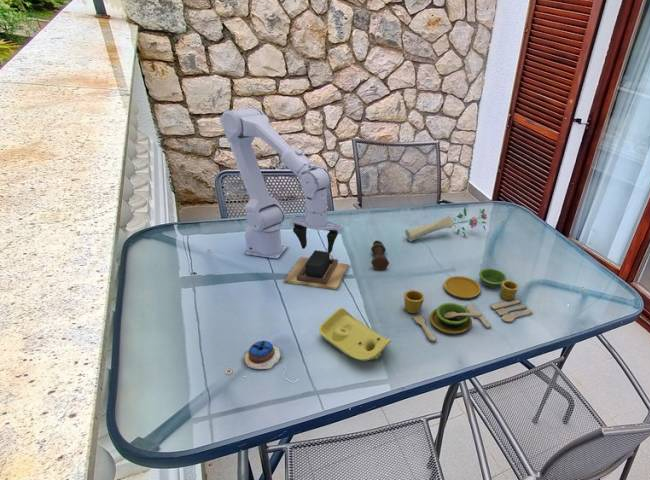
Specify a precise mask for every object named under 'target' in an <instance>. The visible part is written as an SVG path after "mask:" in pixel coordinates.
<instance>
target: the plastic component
mask: <svg viewBox="0 0 650 480" xmlns="http://www.w3.org/2000/svg"><path fill="white" fill-rule="evenodd" d="M318 332H319V334H320V335H321V336H322V337H323V339H325V341H327V342H328V343H330V344H331V345H332V346H334V347H335V348H336V349H338V350H339V351H341V352H342V353H344V355H346V356H349V357H351V358H352V359H355V360H358V361H369V360H374V359H376V360H377V359H378V357H379V356H381V355H382V353H381V352H382V351H383V350H384V349H385V348H386V347H387V346H388V345H389V344H390V343H391V342H392V339H391V338H386V337H385V336H382V335H381V334H379V333H378V332H376V331H375V330H373V329H372V328H369V327H368V326H367V325H365V324H364V323H362V322H361V321H359V320H358V319H357V318H355V317H354V316H353V315H351V313H350V312H348V311H347V310H346V309H345V308H343V307H339V308H337V309H336V310H335V311H334V312H333V313H332V314H331V315H330V316H328V317H327V318H326V319H325V320H324V321H323V322H322V323H321V324H320V325H319V328H318Z"/></svg>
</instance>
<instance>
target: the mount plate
mask: <svg viewBox="0 0 650 480" xmlns="http://www.w3.org/2000/svg"><path fill="white" fill-rule="evenodd" d="M310 257H311V255H310V256H309V257H304V256H300V258H299V259H298V260H297V262H296V264H295V265H294V266H293V268H292V269H291V270H290V271H289V273H288V275H287V276H286V277H285V279H284V283H287V284H293V285H301V286H308V287H314V288H321V289H328V290H338V288H339V286H340V284H341V282H342V280H343V278H344V276H345V274H346V273H347V270H348V268H349V264H348V263H342V262H339V260H338V259H337V258H330V266H329V268H328V269H327V271H326V273H325V274H324V276H323V278H316V277H309V276H306V268H305V264H306V263H307V261H308V260H309V258H310Z"/></svg>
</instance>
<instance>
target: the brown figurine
mask: <svg viewBox="0 0 650 480" xmlns="http://www.w3.org/2000/svg"><path fill="white" fill-rule="evenodd" d="M386 250H387V249H386V246H385V245H384V243H383V242H382V241H381V240H374V241H373V242H372V246H371V247H370V251H371V252H372V254H373V256H374V257H373V258H372V260H371V262H370V263H371V265H372V267H373V269H374V270H375V271H384V270H385V271H386V269H387V268H388V266H389V265H390V261H389V260H388V258H387V256H386V255H385V252H386Z"/></svg>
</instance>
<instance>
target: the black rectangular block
mask: <svg viewBox="0 0 650 480" xmlns="http://www.w3.org/2000/svg"><path fill="white" fill-rule="evenodd" d="M330 254H331V253H328V251H322V250H317V249H315V250H314V251H313V252H312V254H311V255H310V256H311V257H310V256H309V257H308V258H309V260H308V261H307V263H306V264H305V268H306V276H309V277H316V278H323V276H324V274H325V273H326V271H327V269H328V268H329V266H330V259H331V258H330V257H331V256H330Z"/></svg>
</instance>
